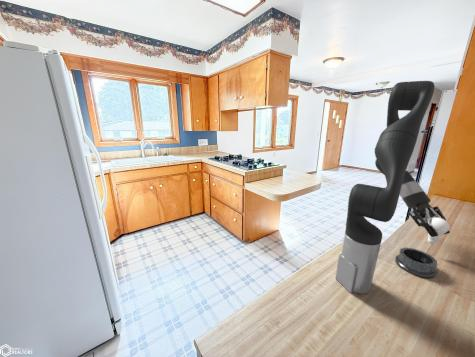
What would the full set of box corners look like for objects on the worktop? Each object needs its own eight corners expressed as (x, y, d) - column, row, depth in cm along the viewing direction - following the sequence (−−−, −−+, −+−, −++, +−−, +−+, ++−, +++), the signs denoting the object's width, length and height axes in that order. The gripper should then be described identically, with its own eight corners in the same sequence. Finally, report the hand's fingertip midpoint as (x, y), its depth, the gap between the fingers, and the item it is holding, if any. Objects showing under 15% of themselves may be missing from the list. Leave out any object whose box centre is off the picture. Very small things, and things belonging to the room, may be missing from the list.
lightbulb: (447, 249, 70) (456, 223, 67) (428, 247, 71) (436, 221, 68) (434, 240, 75) (442, 215, 72) (416, 238, 77) (423, 213, 73)
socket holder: (422, 281, 62) (425, 270, 60) (387, 259, 72) (390, 249, 70) (444, 274, 64) (448, 263, 63) (408, 254, 75) (411, 244, 73)
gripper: (409, 192, 73) (439, 235, 65) (433, 188, 77) (465, 229, 69) (391, 200, 79) (417, 240, 71) (415, 196, 83) (442, 234, 75)
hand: (440, 234), depth 70 cm, fingers closed on lightbulb, 6 cm apart
